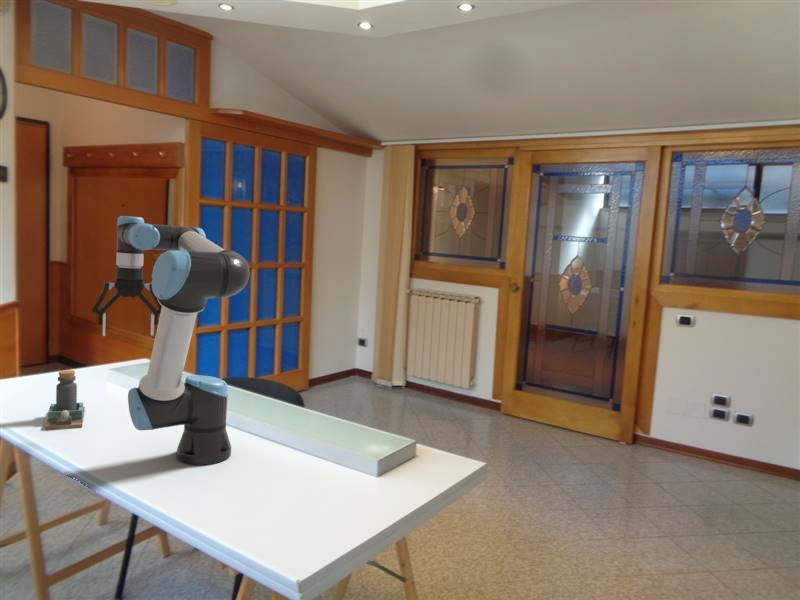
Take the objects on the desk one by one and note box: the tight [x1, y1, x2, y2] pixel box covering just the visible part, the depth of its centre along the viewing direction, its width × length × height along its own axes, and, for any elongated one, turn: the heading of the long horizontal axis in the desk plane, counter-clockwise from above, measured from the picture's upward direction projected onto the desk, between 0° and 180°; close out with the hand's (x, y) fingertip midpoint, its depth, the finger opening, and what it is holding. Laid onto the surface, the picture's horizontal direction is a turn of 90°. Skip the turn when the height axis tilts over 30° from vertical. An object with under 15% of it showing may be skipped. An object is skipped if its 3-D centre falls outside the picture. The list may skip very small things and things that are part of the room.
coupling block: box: [44, 402, 86, 431], centre depth 192 cm, size 19×10×5 cm, turn 26°
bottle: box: [55, 369, 78, 411], centre depth 192 cm, size 6×6×15 cm
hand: (128, 335), depth 181 cm, fingers open, 13 cm apart
